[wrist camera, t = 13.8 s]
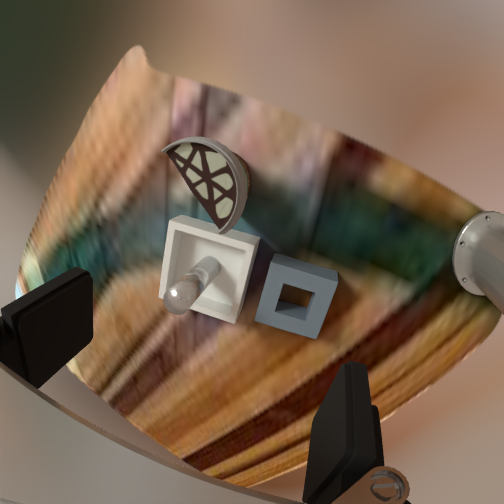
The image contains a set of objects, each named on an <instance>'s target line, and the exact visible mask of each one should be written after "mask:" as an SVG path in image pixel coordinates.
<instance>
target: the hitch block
mask: <svg viewBox="0 0 504 504" xmlns="http://www.w3.org/2000/svg"><path fill="white" fill-rule="evenodd" d="M283 283H284V284H288V285H291V286H294V287H297V288H301V289H304V290H307V291H311V292H313V293H312V296H311V299H310V302H309V304H308V307H307V308H306V307H302V306H299V305H296V304H292V303H289V302H286V301H282V300H279V296H280V293H281V289H282V286H283ZM337 284H338V274H337V271H334V270H331V269H328V268H324V267H321V266H318V265H314V264H311V263H308V262H305V261H301V260H298V259H295V258H291V257H288V256H285V255H281V254H278V253H275V254H274V256H273V258H272V260H271V263H270V267H269V270H268V274H267V277H266V281H265V284H264V288H263V291H262V295H261V298H260V302H259V306H258V309H257V312H256V316H255V319H254V321H256V322H260V323H263V324H266V325H269V326H273V327H276V328H279V329H282V330H286V331H289V332H292V333H296V334H299V335H303V336H306V337H310V338H313V339H317V336H318V334H319V331H320V329H321V326H322V324H323V321H324V319H325V316H326V313H327V311H328V308H329V306H330V303H331V300H332V298H333V295H334V292H335V290H336V287H337Z"/></svg>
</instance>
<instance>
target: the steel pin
mask: <svg viewBox="0 0 504 504" xmlns="http://www.w3.org/2000/svg"><path fill="white" fill-rule="evenodd" d="M220 270H221V266H220V263H219V261H218V260H217V259H216V258H214V257H212V256H206V257H204V258H202V259H201V260H200V261H199V262H198V263H197V264H196V265H195V266H194V267H192V268H191V269H190V270H189V271H188V272H187V273H186V274H185V275H184V276H183V277H181V278H180V279H179V280H178V281H177V282H176V283H175V284H174V285H173V286H172V287H171V288H169V289H168V290H167V291H166V292H165V294H164V296H163V302H164V305H165V307H166V308H167V309H168V310H169V311H170V312H172V313H174V314H177V315H181V314H184V313H185V312H187V310H188V309H189V308H190V307H191V306H192V304H193V303H194V302H195V301H196V300H197V299H198V297H199V296H200V295H201V294H202V293H203V291H204V290H205V289H206V288H207V287H208V286H209V284H210V283H211V282H212V281H213V280H214V279H215V277H216V276H217V275H218V274H219V272H220Z"/></svg>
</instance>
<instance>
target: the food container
mask: <svg viewBox="0 0 504 504" xmlns="http://www.w3.org/2000/svg"><path fill="white" fill-rule="evenodd" d="M161 152H164V153H167V154H168V156H169V158H170V159H171V160H172V161H173V163H174V164H175V165H176V167H177V169H178V170H179V172H180V173H181V175H182V176H183V178H184V180H185V181H186V183H187V185H188V186H189V188H190V190H191V191H192V192H193V194H194V195H195V196H196V198H197V199H198V200H199V202H200V203H201V204H202V206H203V207H204V208H205V210H206V211H207V213H208V214H209V216H210V217H211V218H212V220H213V221H214V223H215V224H216V226H217V227H218V229H219V231H218V233H220V235H222V234H226V233H227V232H228V231H229V230H231V229H232V228H233V226H234V225H235V224H236V223H237V222H238V220H239V218H240V217H241V215H242V213H243V210H244V208H245V204H246V200H247V198H248V195H249V192H250V188H251V174H250V171H249V169H248V166H247V165H246V163H245V162H244V160H243V159H242V158H241V157H240V156H239V155H237V154H236V153H234V152H232V151H230V150H229V149H228V148H227V147H226V146H224V145H223V144H221V143H219V142H218V141H215V140H213V139H210V138H205V137H189V138H184V139H181V140H178V141H176V142H174V143H172V144H170V145H168V146H167V147H165V148H164V149H163V150H162V151H161ZM218 233H217V234H218Z"/></svg>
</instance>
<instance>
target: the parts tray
mask: <svg viewBox="0 0 504 504" xmlns="http://www.w3.org/2000/svg"><path fill="white" fill-rule="evenodd" d="M218 231H219V229H218V227H217V226H216V224H213V223H209V222H206V221H202V220H199V219H195V218H192V217H188V216H185V215H179V216H177V217H175V218H173V219H171V220H169V226H168V232H167V239H166V245H165V252H164V259H163V266H162V274H161V282H160V290H159V298H162V299H163V296H164V294H165V292H166V291H167V290H168V289H169V288H171V287H172V286H173V285H174V284H175V283H176V282H177V281H178V280H179V279H180V278H181V277H183V276H184V275H185V274H186V273H187V272H188V271H189V270H190V269H191V268H192V267H194V266H195V265H196V264H197V263H198V262H199V261H200V260H201V259H202V258H204V257H206V256H212V257H214V258H216V259H217V260H218V261H219V263H220V266H221V270H220V272H219V274H218V275H217V276H216V277H215V279H214V280H213V281H212V282H211V283H210V284H209V286H208V287H207V288H206V289H205V290H204V291H203V293H202V294H201V295H200V296H199V297H198V299H197V300H196V301H195V302H194V303H193V304H192V306H191V307H190V308H189V309H192V310H195V311H198V312H201V313H204V314H207V315H209V316H212V317H215V318H218V319H221V320H224V321H227V322H230V323H233V324H235V323H236V321H237V319H238V317H239V315H240V313H241V311H242V307H243V303H244V299H245V296H246V292H247V288H248V284H249V280H250V276H251V273H252V269H253V265H254V261H255V257H256V253H257V249H258V246H259V242H260V238H261V237H257V236H254V235H250V234H247V233H244V232H240V231H237V230H233V229H231V230H229V231H228V232H227V233H226V234H222V235H220V233H218ZM217 233H218V234H217Z"/></svg>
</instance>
